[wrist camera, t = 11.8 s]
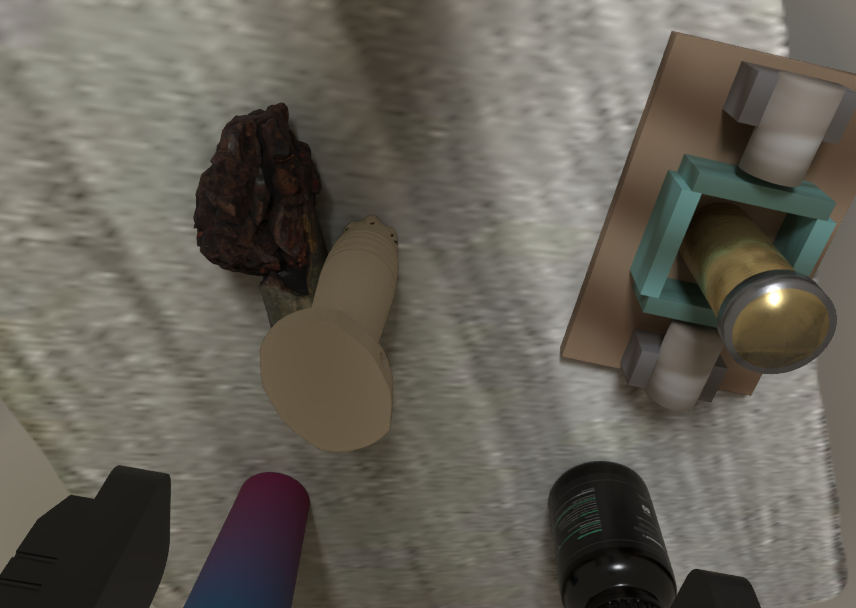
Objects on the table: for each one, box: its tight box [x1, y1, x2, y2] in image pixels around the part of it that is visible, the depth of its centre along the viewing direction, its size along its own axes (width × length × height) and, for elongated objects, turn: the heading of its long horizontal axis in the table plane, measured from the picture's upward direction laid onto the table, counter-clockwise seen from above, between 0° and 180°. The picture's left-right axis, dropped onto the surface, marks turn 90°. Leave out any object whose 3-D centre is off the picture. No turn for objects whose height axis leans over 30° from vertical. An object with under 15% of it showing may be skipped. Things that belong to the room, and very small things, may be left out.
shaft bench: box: [560, 31, 856, 412], centre depth 39 cm, size 19×12×5 cm, turn 168°
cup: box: [183, 472, 310, 608], centre depth 46 cm, size 7×7×15 cm
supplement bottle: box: [549, 461, 677, 608], centre depth 46 cm, size 7×7×12 cm
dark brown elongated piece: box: [193, 103, 328, 328], centre depth 41 cm, size 18×7×6 cm, turn 8°
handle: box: [260, 215, 398, 452], centre depth 36 cm, size 5×6×15 cm
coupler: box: [679, 202, 837, 374], centre depth 36 cm, size 5×5×10 cm
